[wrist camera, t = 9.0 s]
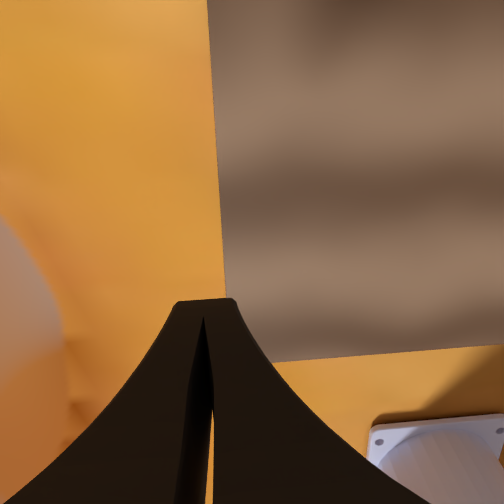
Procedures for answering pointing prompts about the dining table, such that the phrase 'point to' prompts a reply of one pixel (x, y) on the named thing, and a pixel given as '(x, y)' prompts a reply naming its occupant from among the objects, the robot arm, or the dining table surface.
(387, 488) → the robot arm
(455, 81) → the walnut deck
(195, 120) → the dining table surface
